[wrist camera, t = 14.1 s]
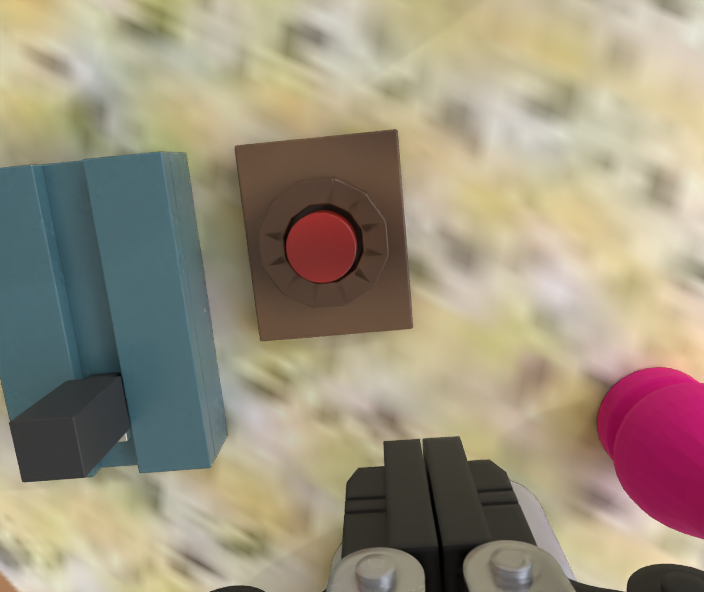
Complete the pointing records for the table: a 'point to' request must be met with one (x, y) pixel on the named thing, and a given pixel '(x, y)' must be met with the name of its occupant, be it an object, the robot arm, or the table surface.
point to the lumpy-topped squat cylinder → (537, 525)
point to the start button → (321, 246)
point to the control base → (112, 300)
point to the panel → (343, 198)
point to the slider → (70, 428)
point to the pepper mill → (658, 444)
